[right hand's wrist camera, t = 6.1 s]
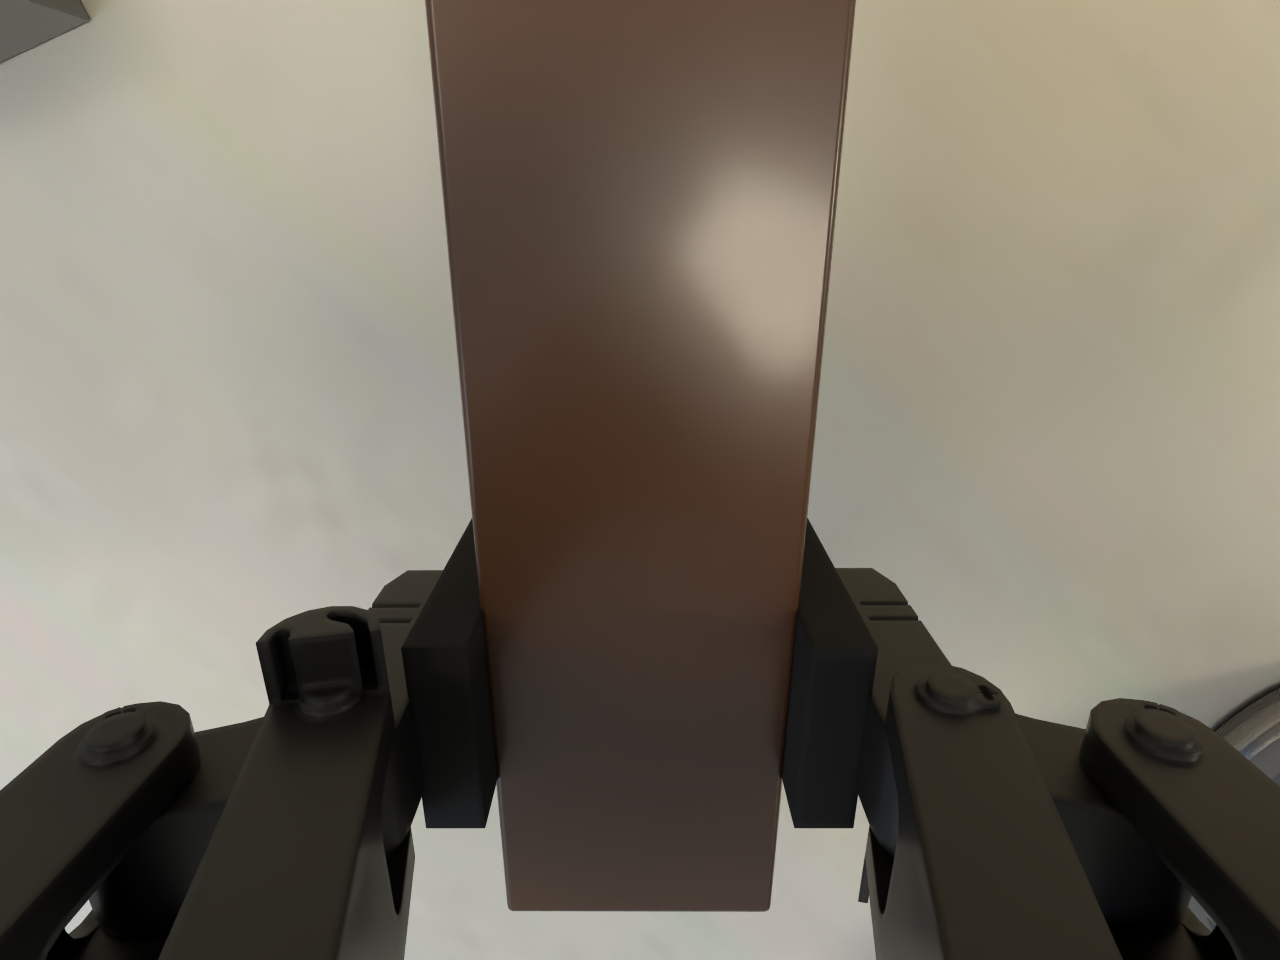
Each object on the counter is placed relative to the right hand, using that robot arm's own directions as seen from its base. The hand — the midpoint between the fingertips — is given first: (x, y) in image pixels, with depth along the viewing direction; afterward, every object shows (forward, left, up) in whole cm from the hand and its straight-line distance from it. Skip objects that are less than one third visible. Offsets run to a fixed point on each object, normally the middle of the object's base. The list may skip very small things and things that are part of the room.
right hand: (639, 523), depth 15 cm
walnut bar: (0, -12, 0) cm, 12 cm away
